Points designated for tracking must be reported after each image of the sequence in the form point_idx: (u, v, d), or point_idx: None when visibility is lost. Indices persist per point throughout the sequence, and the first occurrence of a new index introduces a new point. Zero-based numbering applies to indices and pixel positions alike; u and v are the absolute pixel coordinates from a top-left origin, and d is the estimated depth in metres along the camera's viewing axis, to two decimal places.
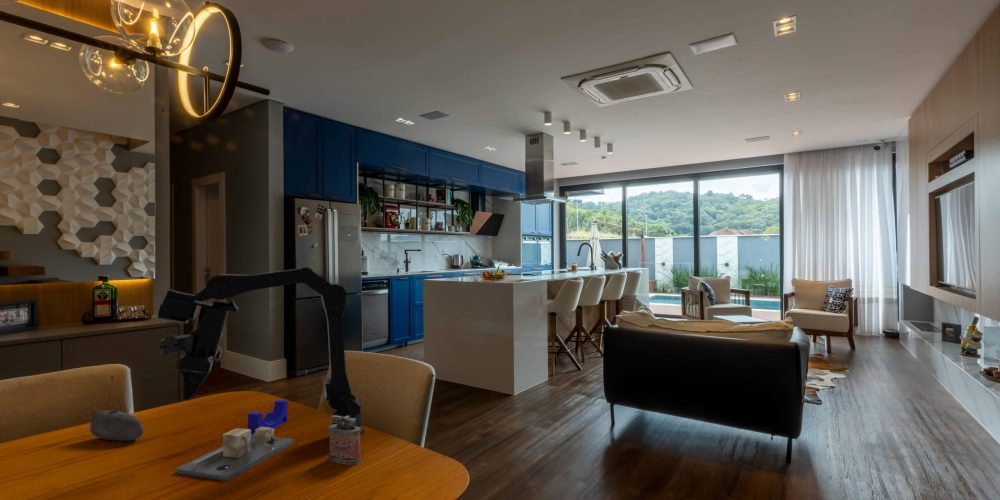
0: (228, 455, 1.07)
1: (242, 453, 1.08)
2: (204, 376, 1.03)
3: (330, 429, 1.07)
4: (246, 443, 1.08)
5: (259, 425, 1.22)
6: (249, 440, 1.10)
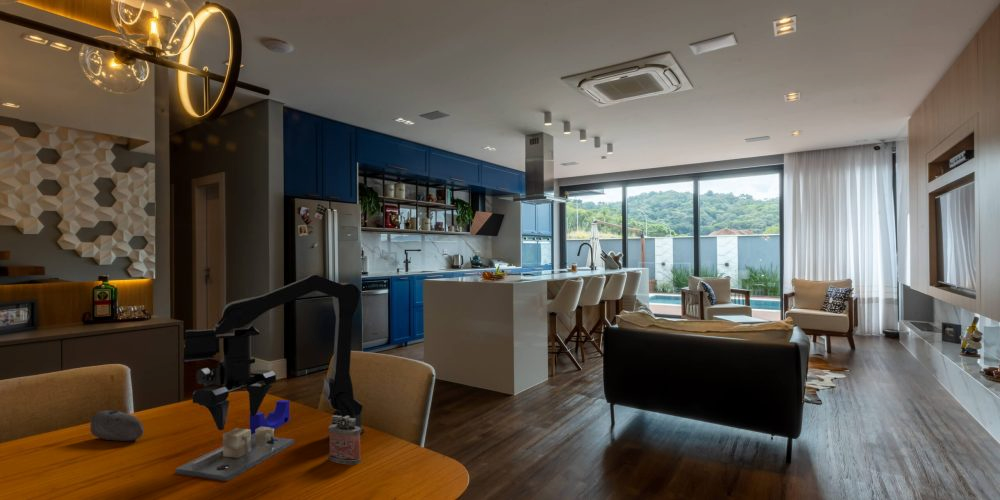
0: (228, 455, 1.07)
1: (242, 453, 1.08)
2: (221, 407, 1.02)
3: (330, 429, 1.07)
4: (246, 443, 1.08)
5: (261, 425, 1.22)
6: (249, 440, 1.10)
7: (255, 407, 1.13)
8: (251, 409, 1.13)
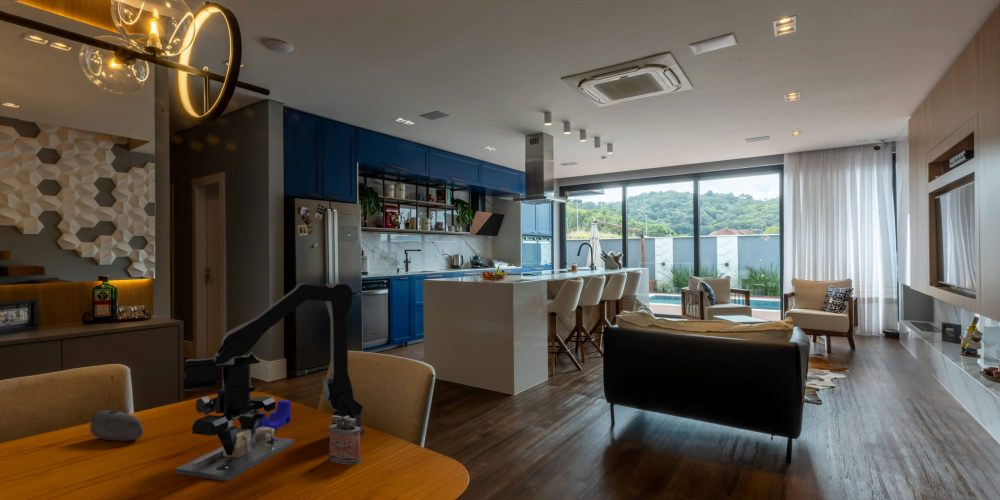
0: (228, 455, 1.07)
1: (242, 453, 1.08)
2: (230, 433, 1.04)
3: (330, 429, 1.07)
4: (246, 443, 1.08)
5: (263, 426, 1.21)
6: (249, 440, 1.10)
7: None
8: None
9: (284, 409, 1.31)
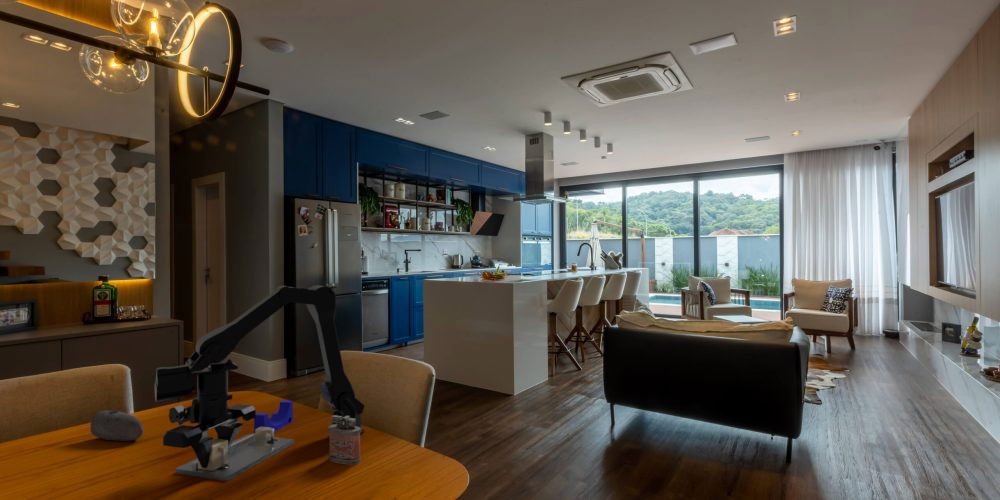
0: None
1: (218, 465, 1.01)
2: (204, 445, 0.98)
3: (330, 429, 1.07)
4: (222, 455, 1.01)
5: (265, 426, 1.21)
6: (226, 451, 1.03)
7: None
8: None
9: (286, 409, 1.31)
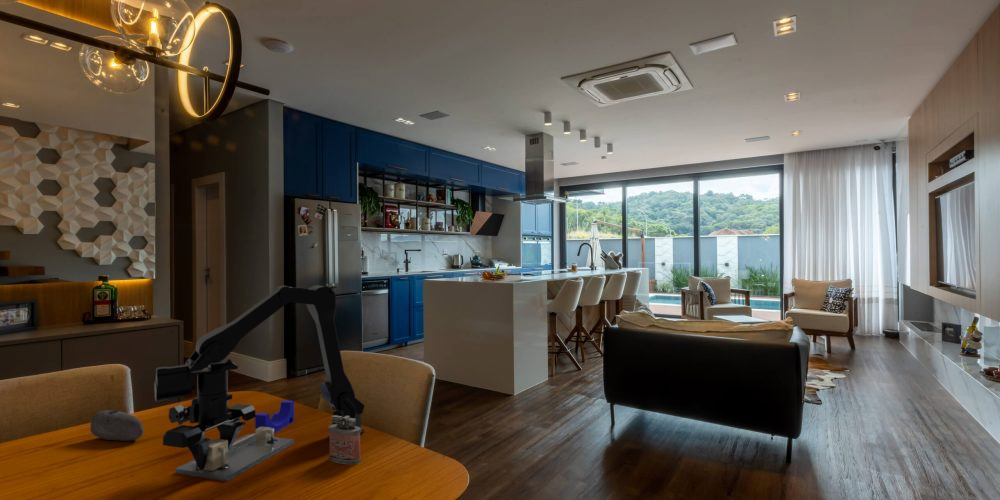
0: None
1: (218, 465, 1.01)
2: (201, 446, 0.97)
3: (330, 429, 1.07)
4: (222, 455, 1.01)
5: (267, 426, 1.21)
6: (226, 451, 1.03)
7: None
8: None
9: (287, 409, 1.31)
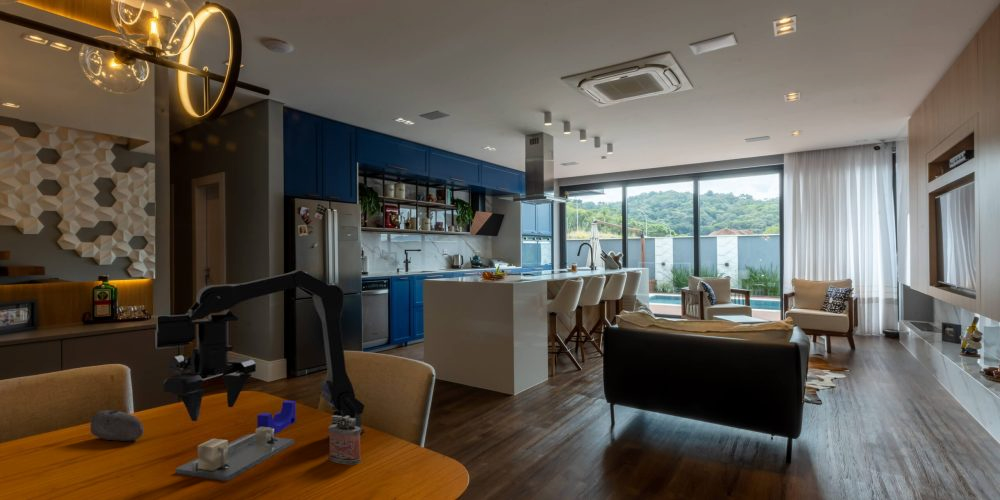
0: (203, 467, 1.01)
1: (218, 465, 1.01)
2: (194, 396, 0.96)
3: (330, 429, 1.07)
4: (222, 455, 1.01)
5: (269, 426, 1.21)
6: (226, 451, 1.03)
7: (233, 398, 1.07)
8: (229, 400, 1.07)
9: (289, 409, 1.30)
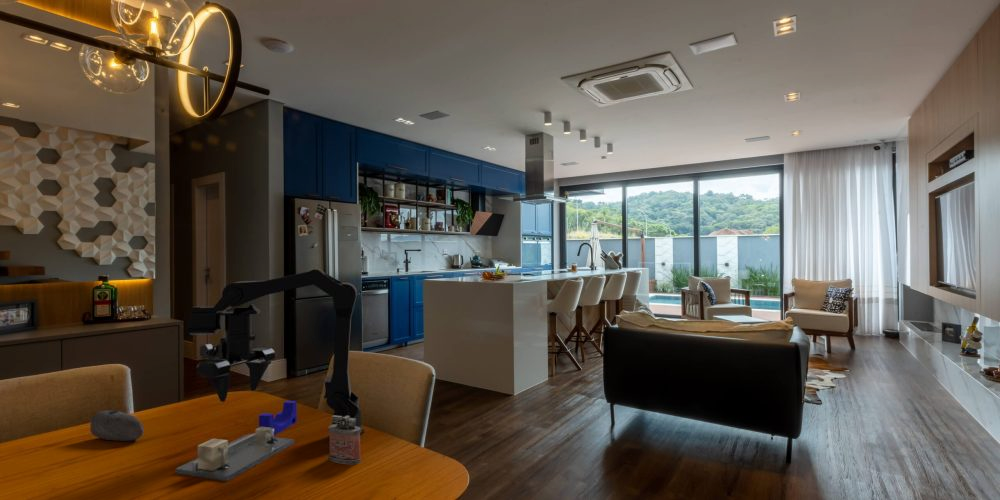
0: (203, 467, 1.01)
1: (218, 465, 1.01)
2: (223, 379, 1.08)
3: (330, 429, 1.07)
4: (222, 455, 1.01)
5: (270, 426, 1.21)
6: (226, 451, 1.03)
7: (255, 382, 1.19)
8: (252, 384, 1.20)
9: (290, 410, 1.30)
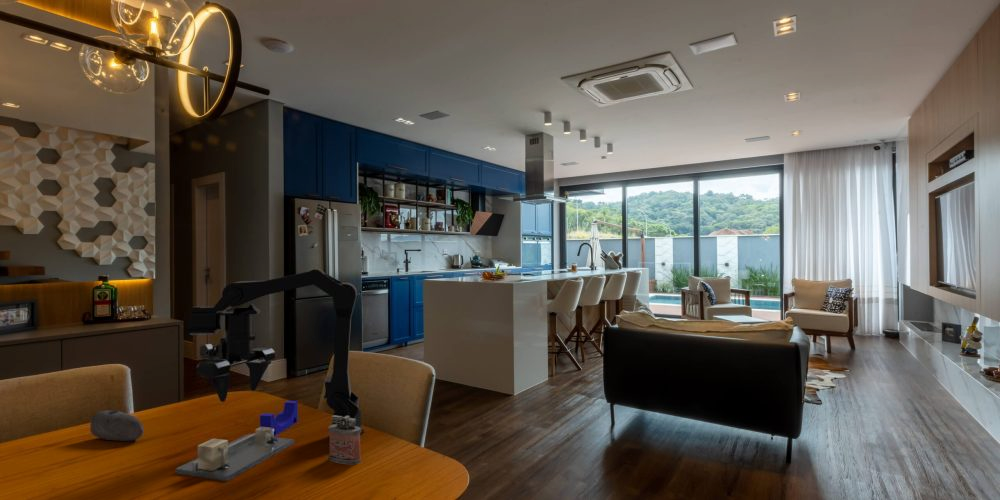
0: (203, 467, 1.01)
1: (218, 465, 1.01)
2: (223, 379, 1.08)
3: (330, 429, 1.07)
4: (222, 455, 1.01)
5: (272, 426, 1.21)
6: (226, 451, 1.03)
7: (255, 382, 1.19)
8: (252, 384, 1.20)
9: (291, 410, 1.30)
